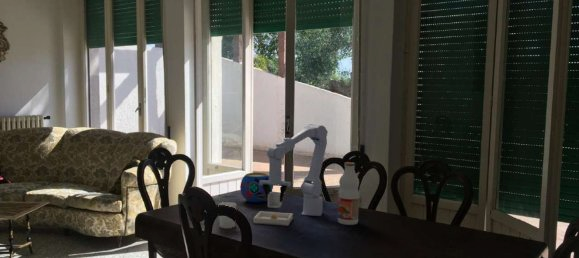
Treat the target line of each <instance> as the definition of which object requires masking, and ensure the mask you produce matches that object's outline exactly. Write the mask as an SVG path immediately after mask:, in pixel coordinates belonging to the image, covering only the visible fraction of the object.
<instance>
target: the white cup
mask: <svg viewBox="0 0 579 258" xmlns="http://www.w3.org/2000/svg"><path fill="white" fill-rule="evenodd" d="M219 205H225V206H229V207H233V208H235V209H236V210H237V203H236V202H232V201H226V202H225V201H222V202H220V203H218V206H219ZM218 220H219V228H221V229H232V227H233V228H235V227H234V226H236V221H235V222H234V221H233V220H232V219H230V218H228V217H226V216H219V215H218Z"/></svg>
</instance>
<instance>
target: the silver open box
mask: <svg viewBox="0 0 579 258" xmlns="http://www.w3.org/2000/svg"><path fill="white" fill-rule="evenodd" d="M282 204H283V201H282V202H280V192H279V191H278V192H276V191H272V192H270V193H269V194H268V201H267V208H277V209H280V208H281V207H282V206H283V205H282Z"/></svg>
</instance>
